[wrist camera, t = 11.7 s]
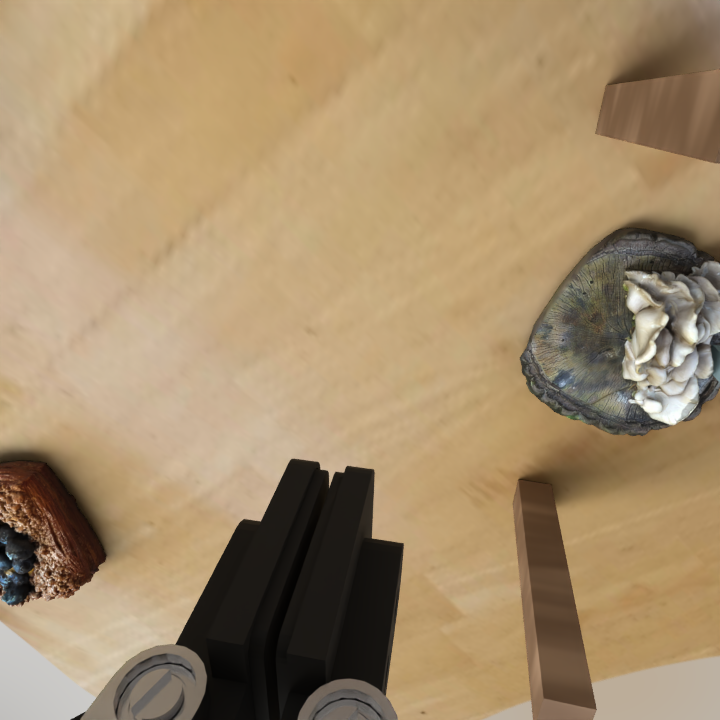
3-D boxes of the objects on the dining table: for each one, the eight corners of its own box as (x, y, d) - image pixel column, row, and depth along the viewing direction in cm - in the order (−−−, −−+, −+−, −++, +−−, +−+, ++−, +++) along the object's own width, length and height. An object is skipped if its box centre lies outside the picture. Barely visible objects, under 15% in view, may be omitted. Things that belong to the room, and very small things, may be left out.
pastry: (27, 577, 48) (-27, 634, 43) (-53, 468, 44) (-124, 517, 39) (124, 563, 45) (78, 623, 40) (48, 444, 41) (-15, 494, 35)
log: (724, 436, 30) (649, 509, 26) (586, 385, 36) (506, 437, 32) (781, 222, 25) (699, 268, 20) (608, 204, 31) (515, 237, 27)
